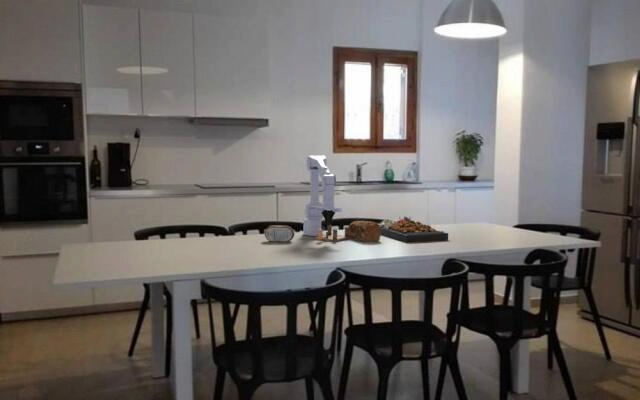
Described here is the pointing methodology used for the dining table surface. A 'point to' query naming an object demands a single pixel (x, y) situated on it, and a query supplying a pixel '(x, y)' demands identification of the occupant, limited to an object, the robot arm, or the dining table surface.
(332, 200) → the robot arm
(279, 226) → the tin
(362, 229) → the bread
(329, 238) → the stool frame
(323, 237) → the gate leg
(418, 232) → the food platter
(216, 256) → the dining table surface
